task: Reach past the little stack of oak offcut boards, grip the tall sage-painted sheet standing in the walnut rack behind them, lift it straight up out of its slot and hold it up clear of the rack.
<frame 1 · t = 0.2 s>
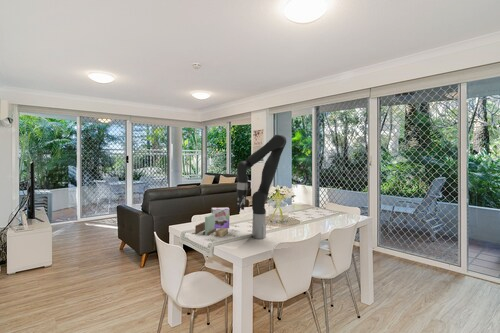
hand: (240, 210, 205), 18 cm above the table, tool pointing down, fingers open, 8 cm apart
offcut top: (221, 232, 200), point 3 cm above the table
candy box: (220, 229, 220), on the table
walnut rack: (209, 234, 204), on the table
sage sheet: (209, 234, 204), resting in walnut rack
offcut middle: (221, 234, 200), point 1 cm above the table, touching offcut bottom
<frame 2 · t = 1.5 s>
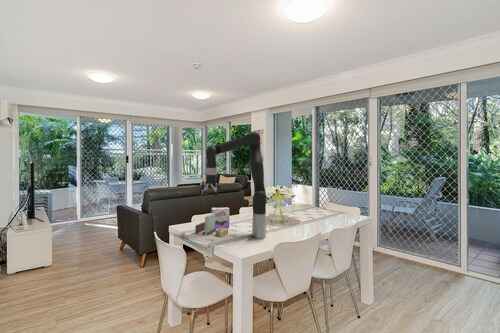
hand: (210, 196, 202), 28 cm above the table, tool pointing down, fingers open, 8 cm apart
offcut top: (221, 232, 200), point 3 cm above the table, touching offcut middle
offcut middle: (221, 234, 200), point 1 cm above the table, touching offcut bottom, offcut top
everything else where it was.
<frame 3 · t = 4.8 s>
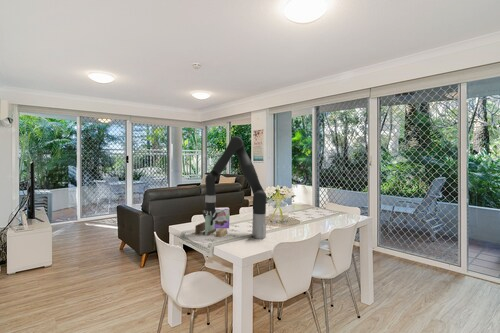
hand: (209, 224, 203), 7 cm above the table, tool pointing down, fingers closed on sage sheet, 2 cm apart
sage sheet: (209, 234, 203), resting in walnut rack, touching gripper
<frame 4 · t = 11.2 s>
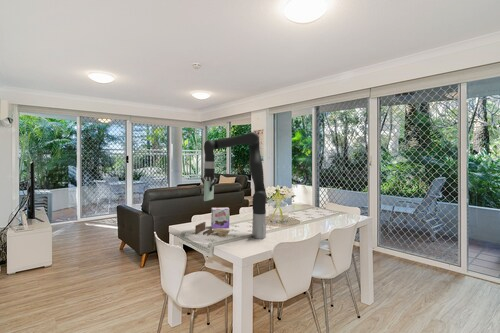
hand: (209, 191, 206), 31 cm above the table, tool pointing down, fingers closed on sage sheet
sage sheet: (208, 199, 206), point 25 cm above the table, touching gripper
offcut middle: (222, 234, 200), point 1 cm above the table, touching offcut top
at the end: sage sheet point 24.7 cm above the table; sage sheet touching gripper; offcut top moved 0.8 cm from its start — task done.
